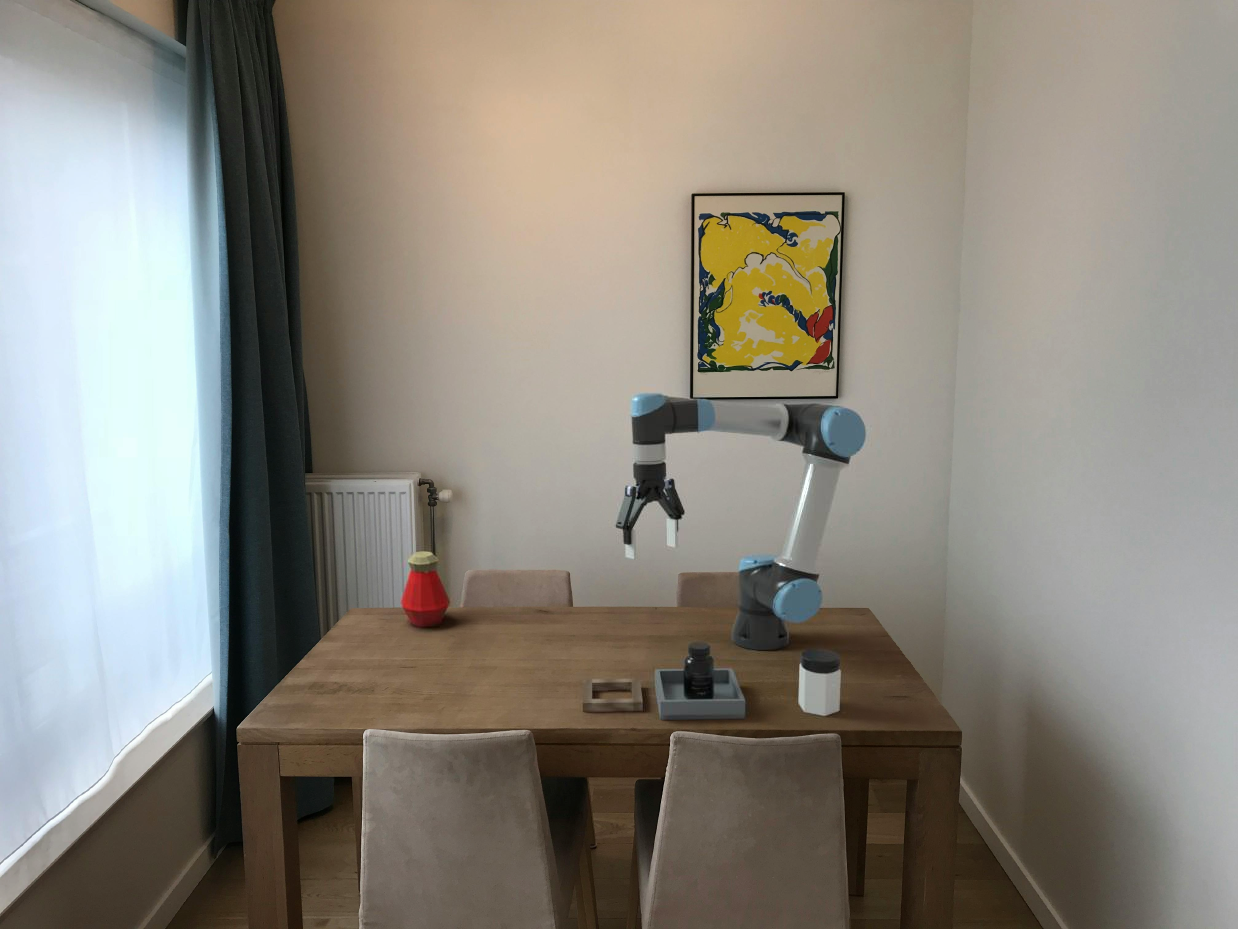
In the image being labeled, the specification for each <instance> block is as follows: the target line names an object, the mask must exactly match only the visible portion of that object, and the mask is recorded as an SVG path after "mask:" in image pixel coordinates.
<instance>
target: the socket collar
mask: <svg viewBox="0 0 1238 929" xmlns="http://www.w3.org/2000/svg"><path fill="white" fill-rule="evenodd" d="M582 685H583V687H582V712H583V713H584V712H585V713H587V712H590V713H591V712H593V713H595V712H596V713H597V712H599V713H600V712H643V710H644V708H643V706H644V705H643V704H644V702H643V694H642V684H641V678H593V679H592V678H590V679H589V678H588V679H586V678H584V679H583V682H582ZM608 690H627V691H631V698H593V692H603V691H604V692H609V691H608Z"/></svg>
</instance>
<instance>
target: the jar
mask: <svg viewBox="0 0 1238 929" xmlns="http://www.w3.org/2000/svg"><path fill="white" fill-rule="evenodd" d="M840 665H841V660H840V655H839V654H838V653H837V652H836V651H833V650H829V649H824V648H809V649H806V650H804V651H802V652H801V655H800V663H799V666H798V667H799V674H798V676H799V677H798V700H797V701H798V706H800V708H801V710H802V711H803V713H807V714H811V715H816V716H823V717H826V716H830V715H831V714H832V715H833V714H835V713H838V712H839V711H840V708H841V707H840V702H841V701H840V700H841V678H842V677H841V676H842V671H841V669H840Z"/></svg>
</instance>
